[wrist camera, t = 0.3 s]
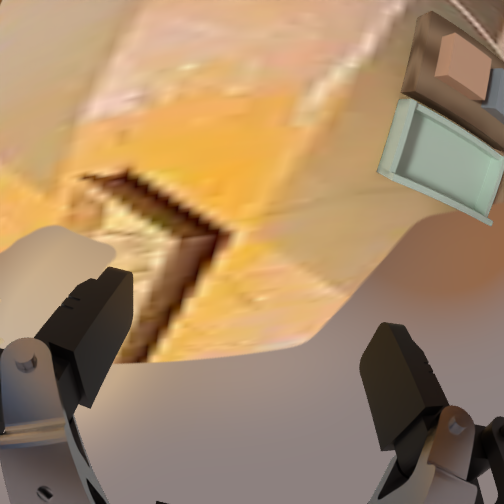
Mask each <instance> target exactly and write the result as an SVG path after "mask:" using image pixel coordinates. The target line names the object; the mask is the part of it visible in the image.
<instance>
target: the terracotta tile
mask: <svg viewBox="0 0 504 504" xmlns="http://www.w3.org/2000/svg"><path fill="white" fill-rule="evenodd" d="M491 61H492V59H491V58H489V57H488V56H487V55H486V54H484V53H483V52H482V51H480V50H479V49H478V48H476V47H475V46H474V45H472V44H471V43H470V42H468V41H467V40H465V39H464V38H463V37H461V36H460V35H458V34H457V33H453V34H449V35H446V36H443V37H442V41H441V47H440V52H439V57H438V62H437V67H436V72H435V76H434V77H436V78H437V79H439V80H441V81H442V82H444V83H446V84H447V85H449V86H450V87H452V88H454V89H455V90H457V91H458V92H460V93H461V94H463V95H464V96H466V97H467V98H469V99H470V100H485V97H486V92H487V86H488V81H489V75H490V68H491Z"/></svg>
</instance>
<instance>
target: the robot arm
mask: <svg viewBox="0 0 504 504" xmlns="http://www.w3.org/2000/svg"><path fill="white" fill-rule="evenodd" d="M132 319H133V274H132V272H129V271H125V270H121V269H117V268H113V267H107V268H106V270H105V271H104V272H103V273H102V274H101V275H100V277H99V278H98V279H97V280H96V279H92V278H90V279H88V280H87V281H85V282H83V283H81V284H79V285H77V287H76V288H75V289H74V290H73V291H72V292H71V293H70V294H69V297H68V298H66V299H65V300H64V302H63V303H62V304H61V306H59V307H58V308H57V310H56V311H55V312H54V313H53V314H52V316H51V317H50V318H49V319H48V321H47V322H46V323H45V324H44V325H43V327H42V328H41V329H40V331H39V332H38V333H37V334H36V336H35V337H34V338H21V339H17V340H15V341H13V342H11V343H10V344H9V345H8V346H7V347H6V348H5V349H0V462H1V467H2V472H3V476H4V480H5V485H6V488H7V492H8V496H9V500H10V503H11V504H109V501H108V499H107V498H106V495H105V493H104V491H103V489H102V487H101V485H100V483H99V481H98V480H97V477H96V475H95V473H94V471H93V469H92V466H91V464H90V461H89V459H88V456H87V453H86V450H85V448H84V445H83V442H82V439H81V436H80V433H79V430H78V427H77V424H76V420H75V417H74V412H75V410H76V408H77V406H78V404H80V405H82V406H85V407H87V408H91V407H92V404H93V402H94V400H95V398H96V396H97V394H98V392H99V389H100V387H101V385H102V383H103V381H104V379H105V377H106V375H107V373H108V371H109V369H110V367H111V365H112V363H113V361H114V359H115V357H116V355H117V353H118V351H119V349H120V347H121V345H122V343H123V341H124V339H125V337H126V336H127V334H128V332H129V330H130V327H131V324H132ZM359 368H360V375H361V378H362V381H363V385H364V388H365V392H366V395H367V399H368V403H369V406H370V410H371V413H372V417H373V421H374V425H375V429H376V433H377V436H378V440H379V444H380V449H381V451H388V450H395V451H396V455H395V456H394V457H393V458H392V459H391V461H390V463H389V465H388V467H387V469H386V471H385V473H384V475H383V477H382V479H381V481H380V483H379V485H378V486H377V488H376V490H375V492H374V494H373V496H372V497H371V499H370V501H369V502H368V503H367V504H484V502H483V498H482V494H481V490H480V487H479V483H478V480H477V477H479V476H480V475H481V474H483V473H484V472H485V471H487V470H488V469H489V468H491V471H492V474H493V477H494V480H495V484H496V487H497V491H498V498H497V501H496V503H495V504H504V417H501V416H500V417H496V418H495V419H494V420H493V421H492V422H491V423H490V424H489V425H488V426H487V427H485V426H480V425H475V424H474V422H473V420H472V418H471V416H470V415H469V414H468V413H467V412H466V411H465V410H464V409H462V408H460V407H458V406H452V405H451V406H450V405H449V403H448V401H447V399H446V397H445V394H444V392H443V390H442V388H441V386H440V384H439V382H438V380H437V378H436V376H435V374H433V370H432V368H431V366H430V365H429V364H428V360H427V358H426V356H425V355H424V352H423V351H422V350H421V349H420V348H419V346H418V345H416V343H415V342H414V341H413V340H412V338H411V336H410V334H409V333H408V331H407V329H406V327H405V326H404V325H400V324H393V323H386V322H383V323H381V324H380V326H379V327H378V329H377V330H376V332H375V334H374V336H373V338H372V339H371V341H370V343H369V345H368V346H367V348H366V350H365V351H364V353H363V355H362V357H361V360H360V367H359ZM4 430H5V432H4ZM3 432H4V433H3ZM156 504H167V503H163V502H159V501H156Z"/></svg>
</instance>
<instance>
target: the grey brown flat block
mask: <svg viewBox="0 0 504 504" xmlns="http://www.w3.org/2000/svg"><path fill="white" fill-rule="evenodd" d="M453 33H457V34H458V35H460V36H461V37H463V38H464V39H465V40H467V41H468V42H470V43H471V44H472V45H474V46H475V47H476V48H478V49H479V50H480V51H482V52H483V53H484V54H486V55H487V56H488V57H489V58H491V59H492V61H491V68H490V69H495V68H503V69H504V62H503V61H502V60H500V59H499V58H498V57H497V56H496V55H494V54H493V53H492V52H491V51H490V50H488V49H487V48H486V47H484V46H483V45H482V44H481V43H479V42H478V41H477V40H475V39H474V38H473V37H471V36H470V35H468V34H467V33H466V32H464V31H463V30H461V29H460V28H458V27H457V26H455V25H454V24H452V23H451V22H449V21H448V20H446V19H445V18H443V17H441V16H440V15H438V14H437V13H435V12H433V11H430V12H428V13H426V14H424V15H422V16H420V17H418V18H417V24H416V29H415V34H414V39H413V44H412V48H411V53H410V57H409V61H408V66H407V70H406V74H405V78H404V82H403V86H402V90H401V93H403V94H405V95H407V96H409V97H411V98H413V99H415V100H417V101H419V102H421V103H422V104H424V105H426V106H428V107H430V108H432V109H433V110H435V111H437V112H439V113H440V114H442V115H444V116H446V117H447V118H449V119H451V120H452V121H454V122H456V123H457V124H459V125H460V126H462V127H464V128H465V129H467V130H468V131H470V132H471V133H473V134H474V135H476V136H477V137H479V138H480V139H482V140H483V141H484V142H486V143H487V144H489V145H490V146H492V147H493V148H494V149H498V150H501V151H504V124H502V123H501V122H500V121H499V120H497V119H496V118H495V117H493V116H492V115H491V114H490V113H488V112H487V111H486V110H484V109H483V108H481V105H482V100H470V99H469V98H467V97H466V96H464V95H463V94H461V93H460V92H458V91H457V90H455V89H454V88H452V87H450V86H449V85H447V84H446V83H444V82H442V81H441V80H439V79H437V78H436V77H434V76H435V72H436V67H437V62H438V57H439V52H440V47H441V41H442V37H443V36H446V35H449V34H453Z"/></svg>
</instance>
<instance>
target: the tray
mask: <svg viewBox="0 0 504 504" xmlns="http://www.w3.org/2000/svg"><path fill="white" fill-rule="evenodd" d="M503 171H504V157H503V156H501V155H500V154H499V153H497V152H496V151H494V150H493V149H492V148H490V147H489V146H487V145H486V144H485V143H483V142H482V141H480V140H479V139H477V138H476V137H474V136H473V135H471V134H470V133H468V132H467V131H465V130H464V129H462V128H460V127H459V126H457V125H456V124H454V123H452V122H451V121H449V120H447V119H446V118H444V117H442V116H440V115H439V114H437V113H435V112H433V111H432V110H430V109H428V108H426V107H424V106H422V105H420V104H419V103H417V101H415V100H413V99H399V101H398V104H397V108H396V111H395V115H394V118H393V122H392V125H391V128H390V132H389V135H388V138H387V141H386V145H385V148H384V151H383V154H382V157H381V160H380V163H379V166H378V169H377V172H378V173H380V174H381V175H383V176H385V177H387V178H389V179H390V180H392V181H395V182H397V183H400V184H402V185H404V186H407V187H409V188H412V189H414V190H416V191H419V192H421V193H423V194H425V195H428V196H430V197H432V198H434V199H437V200H439V201H441V202H443V203H445V204H447V205H450V206H452V207H454V208H456V209H458V210H460V211H462V212H464V213H466V214H468V215H470V216H472V217H474V218H476V219H478V220H480V221H482V222H484V223H486V224H488V225H490V226H492V223H493V221H492V220H490V219H489V218H487V217H488V214H489V212H490V209H491V207H492V204H493V201H494V198H495V196H496V193H497V190H498V187H499V184H500V181H501V178H502V175H503Z"/></svg>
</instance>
